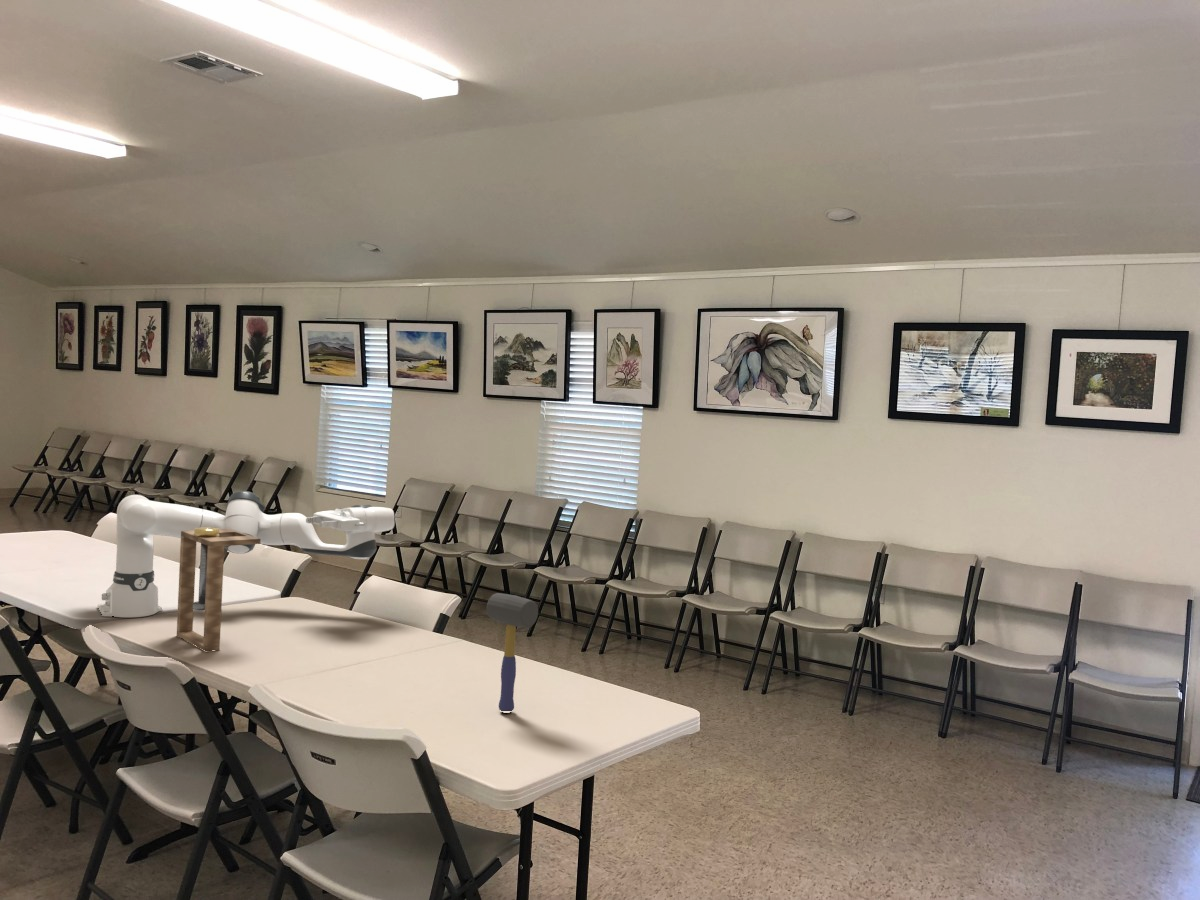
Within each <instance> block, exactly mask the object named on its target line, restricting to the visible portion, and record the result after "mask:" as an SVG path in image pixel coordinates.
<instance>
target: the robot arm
mask: <svg viewBox="0 0 1200 900" xmlns="http://www.w3.org/2000/svg"><path fill="white" fill-rule="evenodd" d="M265 510H266V506H265V505H264V504H263V503H262V501H261V499H260V497H258V495H257V494H256V493H254V492H251V491H248V490H239V491H235V492H233V493H231V495H230V496H229V498H228V501H227V507H226V511H225V514H221V513H219V512H216V511H212V510H208V509H203V508H198V507H194V506H189V505H183V504H178V503H168V502H161V501H155V500H150V499H149V498H147V497H145V496H144V495H141V494H131V495H127V496H126V497H124V498H122V500H121V501H120V502H119V503H118V506H117V509H116V560H115V561H116V562H115V563H116V564H115V565H116V566H115V571H114V574H113V578H112V584H111V585H110V586H109V587H108V588H107V589H106V591H105V593H102V594H101V601H105V602H103V603H98V604H97V607H98V608H99V609H98V608H97V609H98V611H99V610H100V611H99V613H100V612H101V613H100V615H101V614H102V615H101V617H112V616H114V617H116V618H142V617H148V616H152V615H155V614H156V613H158V612H161V611H163V607H162V606H159V588H158V586H157V585H156V584H154V581H155V571H154V551H155V549H154V548H155V545H154V543H155V542H154V536H162V537H163V536H165V537H173V538H177V539H181V531H192V530H194V529H195V528H200V527H212V528H219V529H232V530H235V531H238V532H241V533H244V534H247V535H250V536H254V537H257V538H260V539H261V543H260V544H261V545H267V546H268V545H269V546H285V545H287V546H288V545H292V546H295V547H298V548H300V550H301V552H304V553H306V554H313V555H314V554H315V555H324V556H334V557H349V558H351V559H355V560H366V559H369V558H372V557H373V556H374V555H375V553H376V551H377V549H378V547H377V540H376V535H375V533H382V532H387V531H391V530H393V529H394V528H395V524H396V516H395V512H394V510H393V509H392V508H389V507H385V506H384V507H383V506H372V505H371V504H357V505H356V504H355V505H352V506H350V507H344V508H341V507H340V508H339V507H338V508H335V509H334V510H333V509H332V510H323V511H317V512H315V513H313V516H308V517H307V516H306V515H304V514H302V513H300V512H286V513H285V512H283V513H276V514H266V513H264V511H265ZM313 524H314V525H319V526H320V527H321V528H331V529H333V530H338V531H342V532H344V534H345V537H346V538H345V539H346V543H345V544H333V543H325V542H323V541H322V540H321V539H320V538H319V536H318V534H317V532H316V530H315V527H314V525H313ZM255 546H256V544H248V545H231V546H224V550H227V552H230V553H233V554H238V555H239V554H240V555H241V554H243V555H244V554H248V553H249V552H252V551H253V550H254V549H255Z"/></svg>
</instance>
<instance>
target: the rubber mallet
mask: <svg viewBox="0 0 1200 900" xmlns="http://www.w3.org/2000/svg"><path fill="white" fill-rule="evenodd" d="M486 614H487V616H488V617H489V619H491V620H493V621H495V622H498V623H501V624H505V625H506V627H505V641H504V654H503V658H502V662H501V667H500V668H501V669H500V682H501V685H500V698H499V702H498V709H499V711H500V710H501V711H512V710H513V711H514V709H515V703H514V701H515V700H514V692H515V691H514V690H515V682H516V675H517V674H516V673H517V661H516V660H517V659H516V656H515V650H516V631H517V627H518V628H519V627H520V628H524V629H525V628H526V629H527V628H528V629H529V628H531V627H532V626H533V625H535V623H536V621H537V619H538V616H539V608H538V604H537V603H536V602H535V601H533V600H532V599H529V598H525V597H521V596H519V595H515V594H508V593H502V592H500V593H499V592H497V593H493V594H492V595H491V596H490V597H489V599H488V601H487V603H486ZM513 711H512V712H513Z"/></svg>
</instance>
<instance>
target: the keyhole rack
mask: <svg viewBox="0 0 1200 900" xmlns="http://www.w3.org/2000/svg"><path fill="white" fill-rule="evenodd" d="M197 543H199V544H201V543H202V544H205V545H207V546H208V552H207V574H206V597H205V610H204V620H203V623H204V625H203V635H201V634H199V633H198V632H196V631H194V630H193V628H194V627H193V626H194V609H193V603H194V602H195V582H196V562H197V560H196V558H197ZM248 544H255V545H260V544H261V539H260V538H257V537H254V536H250V535H247V534H244V533H241V532H238V531H235V530H232V529H220V532H219V536H218V537H196V536H194V530H192V531H181V538H180V546H179V547H180V549H179V570H178V571H179V573H178V592H177V593H178V594H177V615H176V616H177V617H176V618H177V619H176V637H178V636H179V637H181V638H183V639H184V640H183V639H182V640H183V641H185V640H186V641H185V642H187V641H188V642H190V643H192V644H194V645H196V646H197V647H199V648H201V649H203V650H205V651H212V650H219V651H221V650H220V648H221V647H220V646H221V625H222V605H223V604H222V602H223V600H222V599H223V585H224V584H223V581H224V560H225V548H224V546H231V545H248ZM179 637H178V638H179ZM181 638H180V639H181ZM188 642H187V643H188ZM190 643H189V644H190ZM192 644H191V645H192ZM194 645H193V646H194ZM197 647H196V648H197ZM199 648H198V649H199ZM201 649H200V650H201ZM203 650H202V651H203ZM212 652H213V651H212Z"/></svg>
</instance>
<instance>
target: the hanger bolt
mask: <svg viewBox="0 0 1200 900" xmlns="http://www.w3.org/2000/svg"><path fill="white" fill-rule="evenodd" d="M219 532H220V529H219V528H212V527H200V528H195V529H194V536H196V537H218V536H219ZM207 552H208V546H207V545H205V544H202V543H200V559H199V580H198V581H199V582H198V584H199V585H198V601H197V600H196V601H194V603H193V610H195V611H205V597H206V574H207Z"/></svg>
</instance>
